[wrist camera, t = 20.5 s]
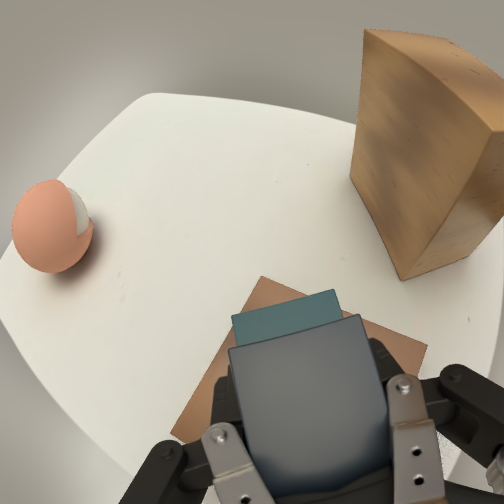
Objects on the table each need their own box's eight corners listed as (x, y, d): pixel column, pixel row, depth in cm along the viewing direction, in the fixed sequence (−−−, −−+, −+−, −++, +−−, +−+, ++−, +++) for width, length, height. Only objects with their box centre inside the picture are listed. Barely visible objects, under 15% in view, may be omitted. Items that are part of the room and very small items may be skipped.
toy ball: (123, 224, 24) (75, 164, 17) (81, 300, 20) (15, 255, 14) (75, 209, 26) (33, 161, 19) (39, 271, 23) (-14, 231, 16)
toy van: (367, 455, 12) (421, 494, 5) (274, 480, 12) (256, 541, 5) (329, 317, 16) (353, 254, 10) (242, 340, 17) (202, 294, 10)
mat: (262, 278, 19) (261, 275, 19) (424, 346, 15) (428, 344, 15) (173, 432, 15) (169, 433, 14) (341, 511, 11) (342, 515, 10)
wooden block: (348, 175, 22) (363, 28, 11) (413, 164, 22) (446, 38, 11) (400, 282, 18) (493, 130, 6) (469, 256, 17) (557, 132, 6)
